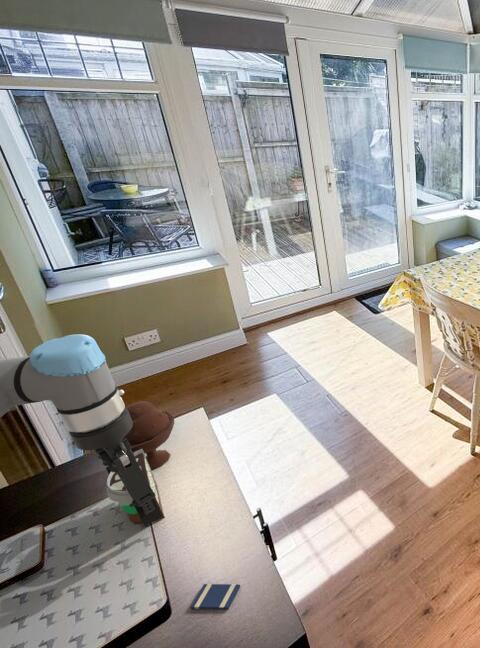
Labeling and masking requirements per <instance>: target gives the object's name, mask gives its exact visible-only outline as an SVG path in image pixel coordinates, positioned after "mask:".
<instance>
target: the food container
mask: <svg viewBox="0 0 480 648" xmlns="http://www.w3.org/2000/svg"><path fill="white" fill-rule="evenodd" d="M134 456H135V457H136V461H137V463H138V465H139V467H140V469H141V470H142V472H143V474H144V476H145V478H146V479H147V481H148V483H149V485H150V487H151V489H152V490H153V492H155V495H156V497H154V498H155V500H156V503H157V505H158V507H159V509H160V511H161V513H162V517H160V518H159V519H157V520H156V521H154V522H153V523H155V522H158V521H160V520H163V519H165V518H166V516H165V511H164V507H163V503H162V498H161V493H160V491H159V490H160V489H159V486H158V483H157V481H156V479H155V476H154V474H153V470H151V469H150V466H149V464H148V462H147V459H146V453H144V451H143V450H142V449H140V450H138V451H136V452H134ZM115 467H116V466H115ZM105 489H106V495H107V497H108V499H110V500H111V501H113V502H117V503H118V504H119V506H120V507H121V509H122V510H123V512H124V513H125V514H126V516H127V518H128V519H129V521H130V522H131V523H133V524H136V525H143V523H142V521H141V519H140V517H139V515H138V513H137V511H136V509H135V507H134V506H133V507H131V508H130V506H129V504H131V503H132V501H133V499H132V498H131V496H130V494H129V493H128V491H127V489H126V487H125V486H124V484H123V482H122V481H121V479H120V477H119V476H118V474H117V473H116V472H110V474H108V476H107V479H106V484H105Z"/></svg>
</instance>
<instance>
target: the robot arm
mask: <svg viewBox="0 0 480 648" xmlns="http://www.w3.org/2000/svg"><path fill="white" fill-rule="evenodd" d="M97 343H98V342H97V341H96V339H94V338H93V337H92V336H90V335H87V334H81V333H79V334H78V333H77V334H69V335H68V334H67V335H64V336H62V337H56V338H53V339H50V340H47V341H45V342H43V343H41V344H39V345H38V346H36V347H34V348H33V350H32V351H31V352H30V353H29V355H28V356H27V355H26V356H17V357H9V358H0V419H1V418H2V417H3V416H4V415H5V414H6V413H7V412H9V411H10V410H11V408H14V407H16V406H23V405H28V404H29V405H30V404H34V403H40V402H45V401H51V402H52V404H53V406H54V407H55V409H56V412H57V414H58V416H59V417H60V418H59V419H60V420H61V421H62V423H63V425H64V427H65V429H66V430H67V431H68V432H69V436H70V437H71V439H72V441H73V443H74V445H75V446H76V448H77V449H78V450H81V451H94V452H95V454H96V455H97V457H98V459H100V460H101V461H102V465H103V466H105V469H106V471H107V473H108V475H109V474H110V472H116V473H117V474H118V476H119V477H120V479H121V481H122V482H123V484H124V486H125V487H126V489H127V491H128V493H129V494H130V496H131V498H132V499H133V501H132V503H131V504H129V506H130V508H131V507H133V506H134V507H135V509H136V511H137V513H138V515H139V517H140V519H141V521H142V523H143V524H142V525H143V526H144V528H147V527H148V526H150V525H151V524H153V523H155V522H157V521H156V520H157V519H159V518H160V517H162V513H161V511H160V509H159V507H158V505H157V503H156V500H155V498H154V497H156V495H155V492H153V490H152V489H151V487H150V485H149V483H148V481H147V479H146V478H145V476H144V474H143V472H142V470H141V469H140V467H139V465H138V463H137V461H136V457H135V456H134V453H133V451H131V449H130V444H129V442H128V440H127V439H125V440H124V436H125V435H126V434H127V433H128V432H129V431H130V430H131V428H132V426H133V421H132V419H131V417H130V414H129V412H128V410H127V408H126V407H127V406H126V405H125V402H124V400H123V398H122V397H121V396H123V395H124V394H125V391H124V390H123V389H119V388H118V387H117V384H116V382H115V380H114V378H113V376H112V373H111V371H110V368H109V366H108V363H107V360H106V355H105V353H104V352H102V350H101V349H100V346H99V345H98V344H97ZM115 466H116V467H115ZM154 521H155V522H154Z"/></svg>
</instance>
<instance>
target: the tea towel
mask: <svg viewBox="0 0 480 648" xmlns="http://www.w3.org/2000/svg"><path fill="white" fill-rule="evenodd" d="M240 588H241V585H240V584H238V583H237V584H236V583H234V584H233V583H231V584H230V583H228V584H227V583H204V584H203V585H202V587H201V588H200V590H199V592H198V594H197V595H196V597H195V599H194V600H193V601H192V603H191V605H190V609H191V610H229V609H230V607H231V605H232V604H233V601H234V600H235V598H236V595H237V594H238V592H239V590H240Z"/></svg>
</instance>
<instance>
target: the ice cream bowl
mask: <svg viewBox="0 0 480 648" xmlns="http://www.w3.org/2000/svg"><path fill="white" fill-rule="evenodd" d="M125 407H126V408H127V410H128V412H129V414H130V417H131V419H132V421H133V426H132V428H131V430H130V431H129V432H128V433H127V434H126V435H125V436H124V440H125V439H127V440H128V442H129V444H130V449H131V451H133V453H134V452H136V451H138V450H140V449H142V450H143V451H144V453H145V457H146V459H147V462H148V464H149V466H150V469H151V471H154V470H156V469H159V468H161V467H162V466H163V465H165V464H166V463H167V462H168V461H169V460H170V458H171V453H170V452H169V451H168V450H167V449H159V450H157V449H158V448H159V447H160V446H162V445H163V444H164V443H166V442H167V441H168V439H169V438H170V435H171V434H172V432H173V428H174V425H175V417H174V416H173V414H171V413H170V412H169V411H167V410H161V409H158V408H156V406H155V405H154V404H153V403H152V402H151V401H144V400H141V401H136V402H133V403H131V404H129V405H127V406H125Z"/></svg>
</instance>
